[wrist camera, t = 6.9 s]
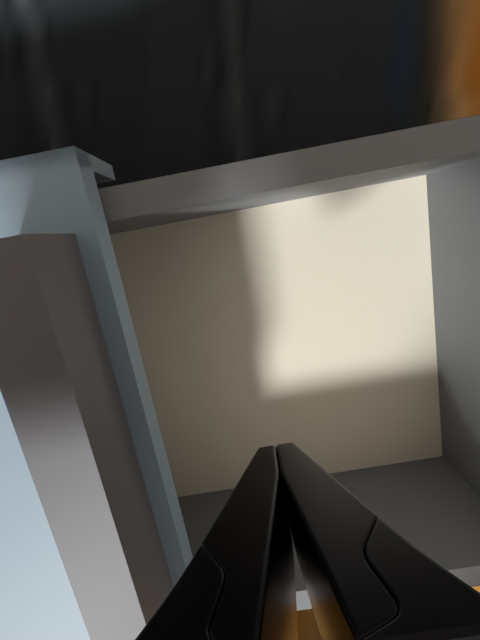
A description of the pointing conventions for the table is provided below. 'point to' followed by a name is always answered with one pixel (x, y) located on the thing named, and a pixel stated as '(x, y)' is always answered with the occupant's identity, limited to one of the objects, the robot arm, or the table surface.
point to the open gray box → (319, 325)
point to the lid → (75, 420)
